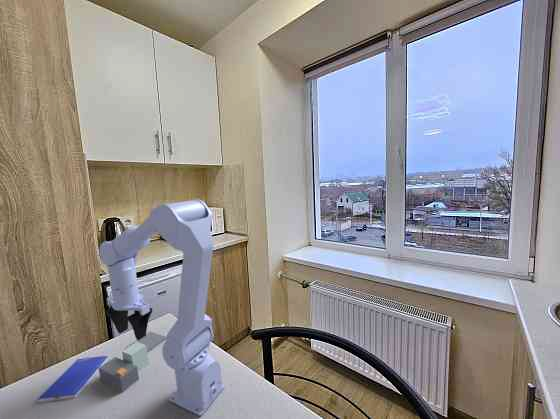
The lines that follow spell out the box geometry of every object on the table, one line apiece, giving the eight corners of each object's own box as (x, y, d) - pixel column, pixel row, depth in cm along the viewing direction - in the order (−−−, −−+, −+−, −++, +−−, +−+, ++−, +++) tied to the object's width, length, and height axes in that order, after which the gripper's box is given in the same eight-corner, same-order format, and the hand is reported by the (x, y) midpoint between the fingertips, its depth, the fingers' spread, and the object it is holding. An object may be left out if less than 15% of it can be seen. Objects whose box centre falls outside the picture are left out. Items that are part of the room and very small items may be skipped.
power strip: (139, 378, 60) (137, 363, 60) (122, 392, 57) (120, 376, 56) (117, 368, 64) (115, 354, 64) (100, 380, 61) (98, 365, 60)
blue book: (76, 358, 68) (36, 398, 56) (107, 355, 68) (74, 393, 56) (77, 364, 68) (38, 404, 56) (108, 360, 69) (75, 399, 56)
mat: (167, 338, 76) (167, 337, 76) (143, 355, 69) (143, 354, 69) (150, 332, 79) (150, 331, 79) (125, 348, 72) (125, 347, 72)
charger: (149, 363, 66) (146, 345, 65) (127, 380, 60) (124, 360, 60) (139, 359, 67) (136, 341, 67) (117, 375, 62) (114, 356, 61)
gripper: (157, 282, 62) (164, 331, 64) (123, 275, 68) (129, 320, 70) (130, 294, 56) (138, 348, 58) (95, 286, 62) (103, 335, 64)
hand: (132, 334), depth 63 cm, fingers open, 7 cm apart
